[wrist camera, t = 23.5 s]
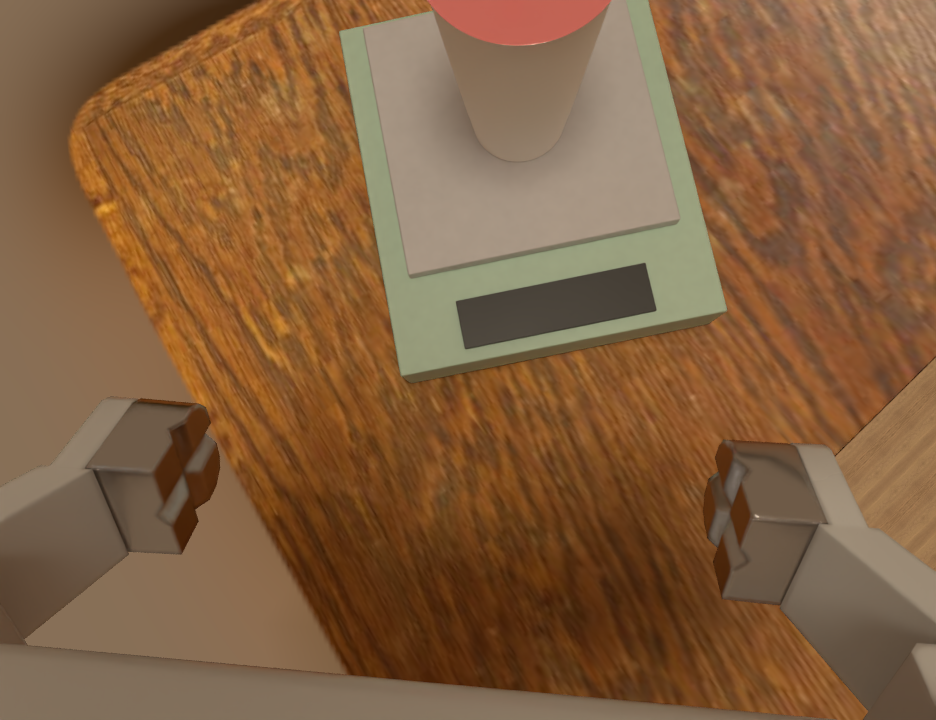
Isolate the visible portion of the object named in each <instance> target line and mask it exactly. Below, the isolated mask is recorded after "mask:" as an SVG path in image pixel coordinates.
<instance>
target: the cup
mask: <svg viewBox="0 0 936 720" xmlns="http://www.w3.org/2000/svg"><path fill="white" fill-rule="evenodd" d="M428 2H429V3H430V5H431V7H432V10H433V13H434V16H435V19H436V22H437V25H438V28H439V31H440V34H441V37H442V40H443V43H444V46H445V49H446V52H447V55H448V58H449V61H450V64H451V67H452V70H453V72H454V75H455V78H456V81H457V84H458V87H459V90H460V93H461V96H462V99H463V102H464V105H465V107H466V110H467V113H468V116H469V118H470V121H471V124H472V126H473V129H474V132H475V135H476V137H477V139H478V141H479V142H480V144H481V145H482V146H483V147H484V148H485V149H486V150H487V151H488V152H489V153H491V154H492V155H494V156H496V157H498V158H500V159H503V160H506V161H511V162H524V161H529V160H533V159H536V158H538V157H540V156H542V155H544V154H545V153H546V152H548V151H549V150H550V149H551V148H552V147H553V146H554V145H555V144H556V143H557V141H558V140H559V138H560V136H561V134H562V131H563V129H564V126H565V123H566V121H567V118H568V116H569V114H570V111H571V109H572V106H573V103H574V101H575V98H576V95H577V92H578V90H579V87H580V84H581V82H582V79H583V76H584V73H585V71H586V68H587V65H588V63H589V60H590V57H591V54H592V52H593V49H594V46H595V43H596V41H597V38H598V35H599V33H600V30H601V27H602V24H603V21H604V19H605V16H606V13H607V10H608V7H609V5H610V2H611V0H428Z"/></svg>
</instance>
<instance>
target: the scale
mask: <svg viewBox="0 0 936 720" xmlns="http://www.w3.org/2000/svg"><path fill="white" fill-rule="evenodd" d="M339 35H340V40H341V46H342V51H343V57H344V63H345V68H346V74H347V79H348V85H349V91H350V96H351V102H352V107H353V113H354V118H355V124H356V130H357V135H358V141H359V146H360V152H361V158H362V163H363V169H364V174H365V180H366V186H367V191H368V197H369V202H370V208H371V213H372V219H373V225H374V230H375V236H376V241H377V247H378V253H379V258H380V264H381V269H382V275H383V281H384V286H385V292H386V297H387V303H388V308H389V314H390V320H391V325H392V331H393V336H394V342H395V348H396V353H397V359H398V364H399V370H400V375H401V376H402V377H403V378H404V379H406V380H407V381H408V382H410V383H415V382H420V381H425V380H430V379H435V378H440V377H445V376H450V375H455V374H460V373H465V372H470V371H475V370H480V369H485V368H490V367H495V366H500V365H505V364H510V363H515V362H520V361H525V360H530V359H535V358H540V357H545V356H550V355H555V354H560V353H565V352H570V351H575V350H580V349H585V348H590V347H596V346H601V345H606V344H611V343H616V342H621V341H626V340H631V339H636V338H641V337H646V336H651V335H656V334H661V333H666V332H671V331H676V330H681V329H686V328H691V327H696V326H701V325H706V324H709V323H710V322H712V321H713V320H715V319H716V318H718V317H719V316H720V315H722V314H723V313H725V312H726V311H727V307H726V303H725V299H724V295H723V291H722V287H721V284H720V280H719V276H718V272H717V268H716V264H715V260H714V256H713V252H712V248H711V244H710V241H709V237H708V233H707V229H706V225H705V221H704V217H703V213H702V209H701V205H700V201H699V198H698V194H697V190H696V186H695V182H694V178H693V174H692V170H691V166H690V162H689V158H688V155H687V151H686V147H685V143H684V139H683V135H682V131H681V127H680V123H679V119H678V115H677V112H676V108H675V104H674V100H673V96H672V92H671V88H670V84H669V80H668V76H667V72H666V69H665V65H664V61H663V57H662V53H661V49H660V45H659V41H658V37H657V33H656V29H655V25H654V22H653V18H652V14H651V10H650V6H649V2H648V0H611V2H610V5H609V7H608V10H607V13H606V16H605V19H604V21H603V24H602V27H601V30H600V33H599V35H598V38H597V41H596V43H595V46H594V49H593V52H592V54H591V57H590V60H589V63H588V65H587V68H586V71H585V73H584V76H583V79H582V82H581V84H580V87H579V90H578V92H577V95H576V98H575V101H574V103H573V106H572V109H571V111H570V114H569V116H568V118H567V121H566V123H565V126H564V129H563V131H562V134H561V136H560V138H559V140H558V141H557V143H556V144H555V145H554V146H553V147H552V148H551V149H550V150H549V151H548V152H546V153H545V154H544V155H542V156H540V157H538V158H536V159H533V160H529V161H524V162H511V161H506V160H503V159H500V158H498V157H496V156H494V155H492V154H491V153H489V152H488V151H487V150H486V149H485V148H484V147H483V146H482V145H481V144H480V142H479V141H478V139H477V137H476V135H475V132H474V129H473V126H472V124H471V121H470V118H469V116H468V113H467V110H466V107H465V105H464V102H463V99H462V96H461V93H460V90H459V87H458V84H457V81H456V78H455V75H454V72H453V70H452V67H451V64H450V61H449V58H448V55H447V52H446V49H445V46H444V43H443V40H442V37H441V34H440V31H439V28H438V25H437V22H436V19H435V16H434V13H433V11H430V12H425V13H421V14H416V15H411V16H407V17H402V18H398V19H393V20H389V21H384V22H379V23H375V24H370V25H366V26H361V27H357V28H352V29H347V30H343V31H340V32H339Z"/></svg>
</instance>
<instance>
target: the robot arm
mask: <svg viewBox="0 0 936 720" xmlns="http://www.w3.org/2000/svg"><path fill="white" fill-rule="evenodd" d="M210 424H211V421H210V418H209V415H208V412H207V409H206V407H205V406H203V405H201V404H197V403H186V402H175V401H164V400H152V399H142V398H141V399H135V398H124V397H114V396H111V397H108V398H106V399H104V400H102V401H101V402H100V403H99V405H98V406H97V407H96V408H95V410H94V411H93V412H92V413H91V415H90V416H89V417H88V418H87V420H86V421H85V422H84V423H83V425H82V426H81V427H80V429H79V430H78V431H77V432H76V433H75V435H74V436H73V437H72V438H71V440H70V441H69V442H68V443H67V445H66V446H65V447H64V448H63V450H62V451H61V452H60V453H59V455H58V456H57V457H56V458H55V460H54V461H53V462H52V463H51V465H50V466H38V467H36V468H34V469H32V470H30V471H28V472H26V473H25V474H23V475H21V476H19V477H17V478H15V479H13V480H11V481H10V482H7V483H5V484H4V485H2V486H0V720H835V719H824V718H813V717H802V716H791V715H780V714H770V713H759V712H748V711H737V710H726V709H715V708H705V707H694V706H683V705H672V704H661V703H650V702H639V701H628V700H616V699H605V698H594V697H583V696H572V695H561V694H550V693H539V692H528V691H517V690H506V689H495V688H484V687H473V686H462V685H451V684H441V683H430V682H419V681H408V680H397V679H387V678H376V677H365V676H354V675H344V674H332V673H321V672H311V671H300V670H290V669H279V668H268V667H257V666H246V665H235V664H225V663H214V662H213V663H212V662H202V661H192V660H181V659H170V658H159V657H149V656H137V655H127V654H116V653H105V652H94V651H83V650H72V649H61V648H51V647H40V646H28V645H27V643H26V642H25V640H24V639H25V638H26V637H27V636H29V635H30V634H31V633H33V632H34V631H35V630H36V629H37V628H39V627H40V626H41V625H42V624H44V623H45V622H46V621H47V620H49V619H50V618H51V617H52V616H53V615H54V614H56V613H57V612H58V611H60V610H61V609H62V608H63V607H65V606H66V605H67V604H68V603H70V602H71V601H72V600H73V599H74V598H76V597H77V596H78V595H79V594H81V593H82V592H83V591H84V590H86V589H87V588H88V587H89V586H91V585H92V584H93V583H94V582H95V581H97V580H98V579H99V578H100V577H102V576H103V575H104V574H105V573H106V572H108V571H109V570H110V569H112V568H113V567H114V566H115V565H116V564H118V563H119V562H120V561H121V560H123V559H124V558H125V557H126V556H127V555H128V554H129V553H128V552H144V553H162V554H163V553H164V554H182V553H183V550H184V549H185V547H186V545H187V543H188V541H189V539H190V537H191V535H192V533H193V531H194V529H195V527H196V525H197V523H198V518H197V514H196V511H195V509H197V508H198V507H199V506H201V505H202V504H204V503H205V502H207V501H208V500H210V498H211V495H212V494H213V492H214V489H215V487H216V485H217V480H218V475H219V470H220V456H219V451H218V447H217V443H216V442H215V441H213V440H212V439H211V438H210V437H209V436H208V435H207V434H206V433H205V432H206V431H207V429H208V427H209V425H210ZM715 460H716V464H717V468H718V472H717V473H716V474H714V475H713V476H712V477H710V478H709V479H708V483H707V486H706V490H705V494H704V506H703V515H704V525H705V530H706V534H707V538H708V539H709V540H710V541H711V542H712V543H713V544H714V545H715V546H716V547H717V551H716V554H715V557H714V560H713V564H714V569H715V573H716V577H717V581H718V585H719V589H720V593H721V597H722V599H726V600H735V601H745V602H754V603H763V604H772V605H781V606H780V609H781V610H782V611H783V613H784V614H785V615H786V616H787V617H788V618H789V620H790V621H791V622H792V623H793V624H794V625H795V627H796V628H797V629H798V630H799V631H800V632H801V634H802V635H803V636H804V637H805V638H806V639H807V641H808V642H809V643H810V644H811V645H812V646H813V648H814V649H815V650H816V651H817V652H818V653H819V655H820V656H821V657H822V658H823V659H824V660H825V662H826V663H827V664H828V665H829V666H830V667H831V668H832V670H833V671H834V672H835V673H836V674H837V675H838V677H839V678H840V679H841V680H842V681H843V682H844V684H845V685H846V686H847V687H848V688H849V689H850V691H851V692H852V693H853V694H854V695H855V696H856V698H857V699H858V700H859V701H860V702H861V703H862V705H863V706H864V707H865V708H866V709H867V710H868V713H867V714H866V716H865V717H864V719H863V720H936V571H934V570H933V569H932V568H930V567H929V566H928V565H926V564H925V563H924V562H922V561H921V560H920V559H919V558H917V557H916V556H915V555H913V554H912V553H911V552H909V551H908V550H907V549H905V548H904V547H903V546H901V545H900V544H899V543H898V542H896V541H895V540H894V539H892V538H891V537H890V536H888V535H887V534H886V533H884V532H883V531H882V530H881V529H879V528H869V527H868V525H867V523H866V521H865V519H864V517H863V514H862V512H861V510H860V508H859V506H858V504H857V502H856V500H855V498H854V496H853V494H852V492H851V490H850V488H849V486H848V483H847V481H846V479H845V477H844V475H843V473H842V471H841V469H840V467H839V465H838V463H837V461H836V459H835V457H834V455H833V453H832V450H831V449H830V448H829V447H827V446H826V445H818V444H799V443H791V444H787V443H773V442H757V441H740V440H724V439H723V441H722V442H721V444H720V445H719V447H718V450H717V453H716V456H715Z"/></svg>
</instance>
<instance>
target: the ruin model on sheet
mask: <svg viewBox="0 0 936 720" xmlns="http://www.w3.org/2000/svg"><path fill="white" fill-rule="evenodd" d="M835 459H836V461H837V463H838V465H839V467H840V469H841V471H842V473H843V475H844V477H845V479H846V481H847V483H848V486H849V488H850V490H851V492H852V494H853V496H854V498H855V500H856V502H857V504H858V506H859V508H860V510H861V512H862V514H863V517H864V519H865V521H866V523H867V525H868V527H869V528H879V529H881V530H882V531H883V532H884V533H886V534H887V535H888V536H890V537H891V538H892V539H894V540H895V541H896V542H898V543H899V544H900V545H901V546H903V547H904V548H905V549H907V550H908V551H909V552H911V553H912V554H913V555H915V556H916V557H917V558H919V559H920V560H921V561H922V562H924V563H925V564H926V565H928V566H929V567H930V568H932V569H933V570H934V571H936V358H935V359H934V360H933V361H932V362H931V363H930V364H929V365H928V366H927V367H926V368H925V369H924V370H923V371H922V372H921V373H920V374H919V375H918V376H917V377H915V378H914V379H913V380H912V381H911V382H910V383H909V384H908V385H907V386H906V387H905V388H904V389H903V390H902V391H901V392H900V393H899V394H898V395H897V396H896V397H895V398H894V399H893V400H892V401H891V402H890V403H889V404H888V405H887V406H886V407H885V408H884V409H883V410H882V411H881V412H880V413H879V414H878V415H877V416H876V417H875V418H874V419H873V420H872V421H871V422H870V423H869V424H868V425H867V426H866V427H865V428H864V429H863V430H862V431H861V432H860V433H859V434H858V435H857V436H856V437H855V438H854V439H853V440H852V441H851V442H850V443H849V444H848V445H846V446H845V447H844V448H843V449H842V450H841V451H840V452H839V453H838V454H837V455H836V456H835Z"/></svg>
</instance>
